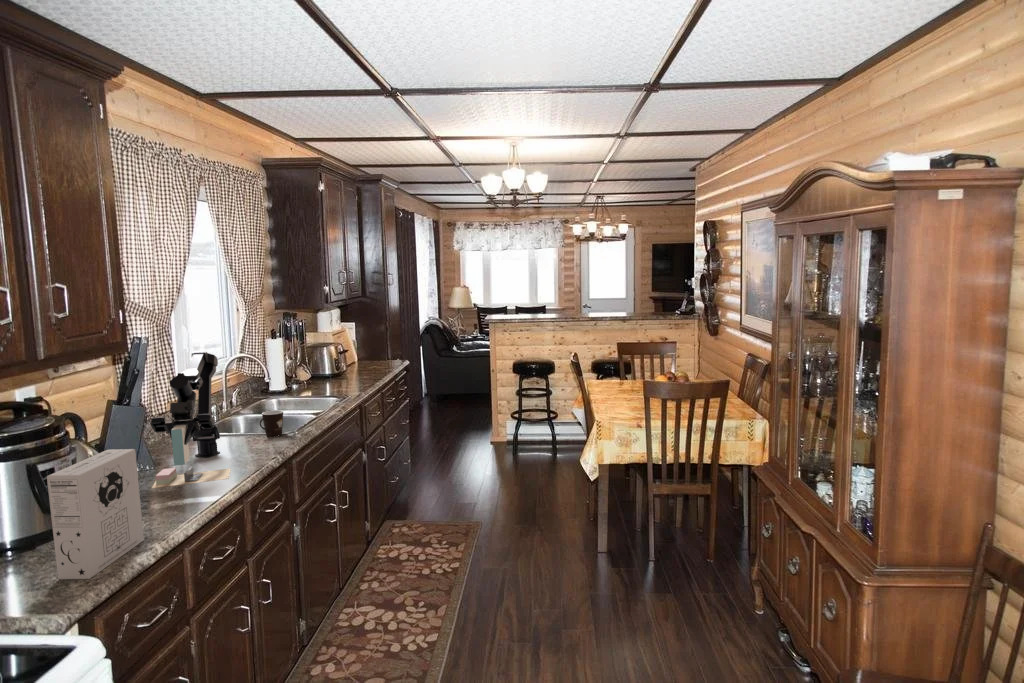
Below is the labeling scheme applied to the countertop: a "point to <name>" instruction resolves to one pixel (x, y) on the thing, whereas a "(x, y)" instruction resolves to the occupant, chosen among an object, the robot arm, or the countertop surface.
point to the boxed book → (180, 445)
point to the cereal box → (95, 512)
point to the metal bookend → (191, 475)
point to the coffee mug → (272, 422)
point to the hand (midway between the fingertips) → (179, 444)
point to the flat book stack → (166, 476)
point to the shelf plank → (204, 478)
